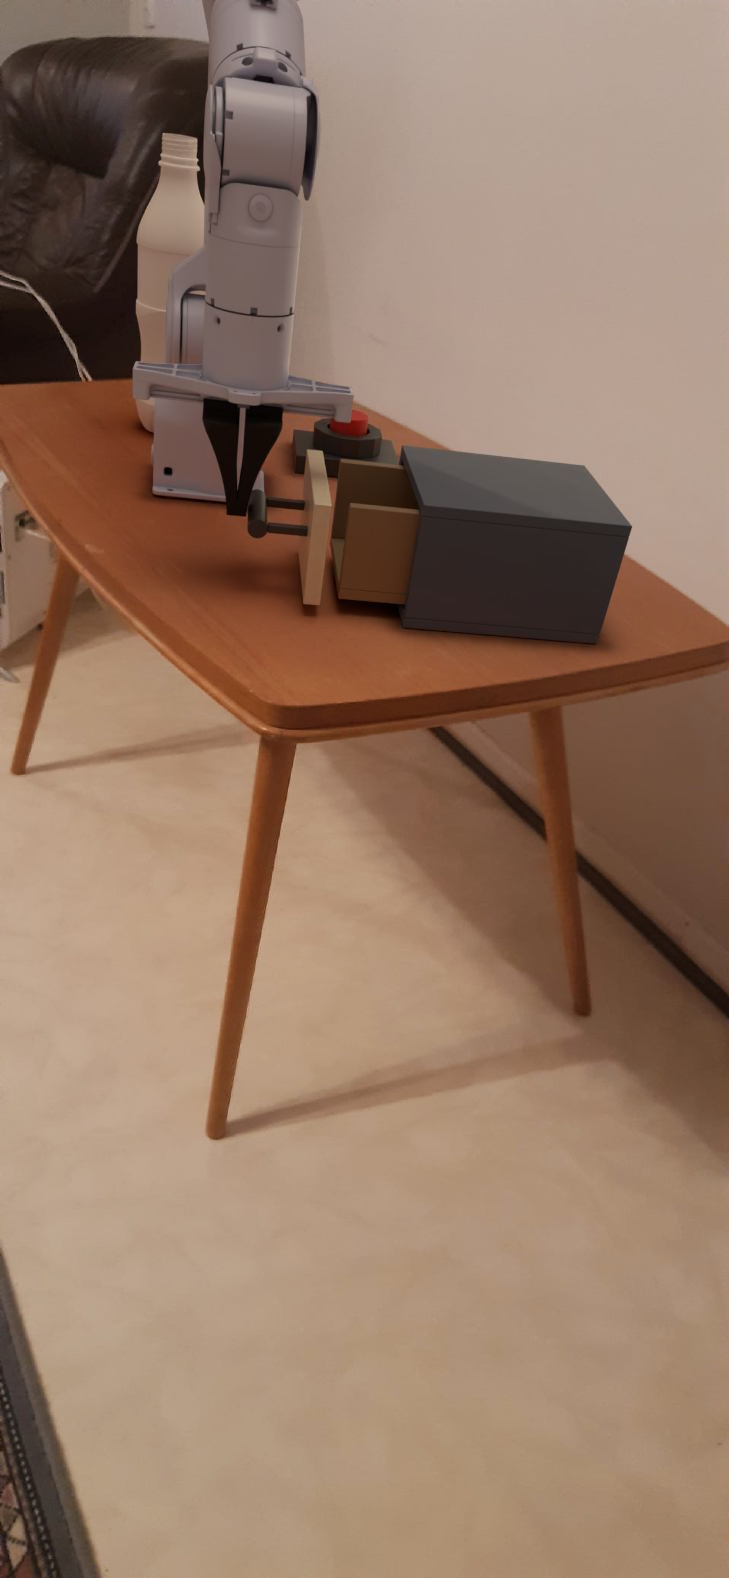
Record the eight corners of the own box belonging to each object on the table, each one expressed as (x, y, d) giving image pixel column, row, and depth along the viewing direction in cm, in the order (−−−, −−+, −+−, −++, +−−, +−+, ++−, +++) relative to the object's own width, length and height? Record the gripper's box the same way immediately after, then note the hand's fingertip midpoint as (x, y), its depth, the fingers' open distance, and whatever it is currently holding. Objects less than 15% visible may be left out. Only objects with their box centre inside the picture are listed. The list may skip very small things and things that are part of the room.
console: (294, 472, 97) (298, 435, 95) (291, 446, 103) (295, 410, 101) (398, 483, 98) (404, 447, 96) (389, 456, 105) (394, 422, 103)
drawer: (243, 599, 71) (250, 497, 67) (244, 535, 81) (250, 442, 76) (489, 620, 74) (511, 523, 70) (462, 556, 83) (480, 468, 79)
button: (330, 436, 97) (332, 418, 96) (328, 425, 100) (330, 407, 99) (367, 440, 98) (370, 422, 97) (364, 429, 101) (366, 411, 100)
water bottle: (176, 446, 98) (185, 141, 84) (119, 426, 101) (119, 127, 87) (222, 433, 104) (238, 144, 89) (168, 414, 106) (175, 131, 92)
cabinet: (402, 628, 73) (424, 504, 68) (384, 556, 83) (401, 445, 78) (597, 644, 75) (632, 526, 70) (556, 573, 85) (584, 465, 80)
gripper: (128, 304, 61) (127, 521, 69) (366, 334, 64) (340, 542, 71) (138, 282, 67) (137, 485, 75) (357, 311, 69) (333, 505, 77)
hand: (236, 511), depth 73 cm, fingers closed
